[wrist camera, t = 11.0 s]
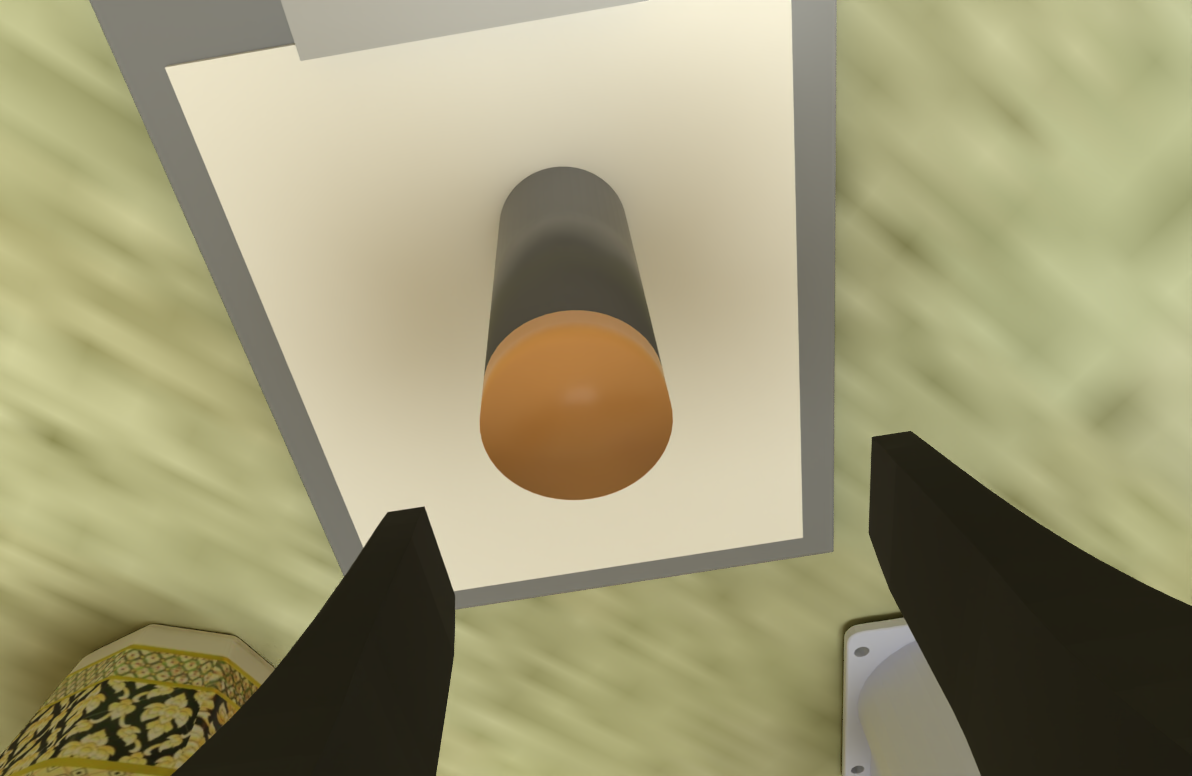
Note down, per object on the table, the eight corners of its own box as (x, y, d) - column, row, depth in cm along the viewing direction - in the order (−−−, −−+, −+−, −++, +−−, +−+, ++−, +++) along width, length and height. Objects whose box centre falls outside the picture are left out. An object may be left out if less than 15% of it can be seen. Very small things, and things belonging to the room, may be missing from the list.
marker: (634, 275, 20) (681, 484, 14) (513, 295, 21) (502, 512, 14) (617, 156, 19) (662, 326, 12) (486, 178, 19) (459, 359, 12)
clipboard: (827, 538, 27) (843, 575, 25) (368, 609, 27) (359, 648, 26) (828, -230, 16) (855, -238, 15) (64, -92, 16) (22, -87, 15)
